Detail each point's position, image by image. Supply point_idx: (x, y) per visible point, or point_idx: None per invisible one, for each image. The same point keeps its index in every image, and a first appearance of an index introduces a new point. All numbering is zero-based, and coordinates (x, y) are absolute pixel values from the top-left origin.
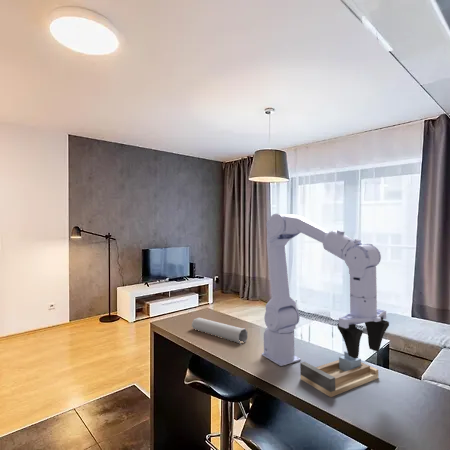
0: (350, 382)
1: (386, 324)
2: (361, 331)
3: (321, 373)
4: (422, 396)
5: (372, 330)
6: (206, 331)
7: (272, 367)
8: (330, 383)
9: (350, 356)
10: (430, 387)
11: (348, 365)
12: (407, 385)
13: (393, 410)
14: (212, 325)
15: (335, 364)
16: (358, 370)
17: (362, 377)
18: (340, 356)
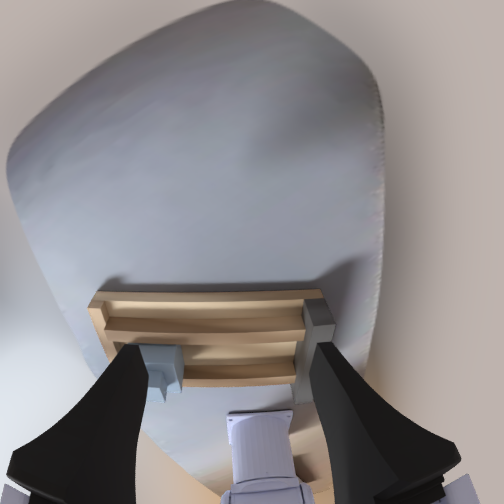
0: (220, 308)
1: (40, 482)
2: (428, 471)
3: None
4: (60, 163)
5: (120, 462)
6: (302, 481)
7: (308, 410)
8: (331, 315)
9: (160, 381)
10: (9, 188)
11: (176, 359)
12: (51, 225)
13: (217, 150)
14: None
15: (196, 377)
16: (160, 331)
17: (157, 309)
18: (174, 392)
